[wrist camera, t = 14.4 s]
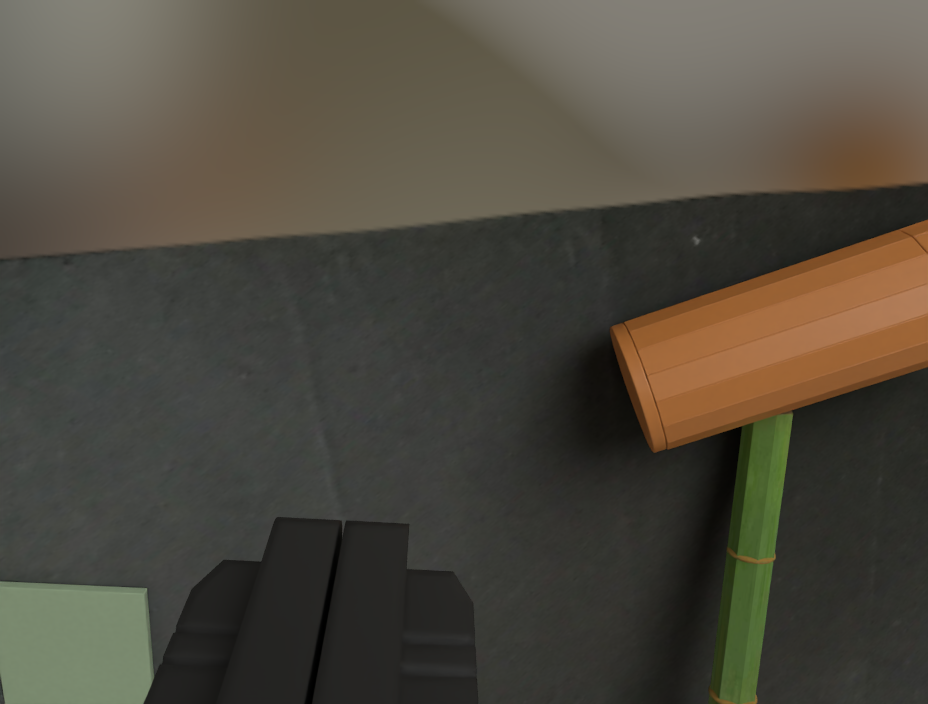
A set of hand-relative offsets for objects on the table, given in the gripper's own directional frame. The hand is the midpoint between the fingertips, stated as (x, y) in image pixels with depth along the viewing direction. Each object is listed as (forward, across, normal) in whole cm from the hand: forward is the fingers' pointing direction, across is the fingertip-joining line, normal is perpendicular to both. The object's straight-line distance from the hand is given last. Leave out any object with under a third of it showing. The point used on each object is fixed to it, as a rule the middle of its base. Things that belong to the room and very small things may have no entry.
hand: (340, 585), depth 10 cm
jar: (+26, -10, +9) cm, 29 cm away
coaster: (+29, +16, +27) cm, 43 cm away
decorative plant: (+28, -17, +25) cm, 41 cm away
